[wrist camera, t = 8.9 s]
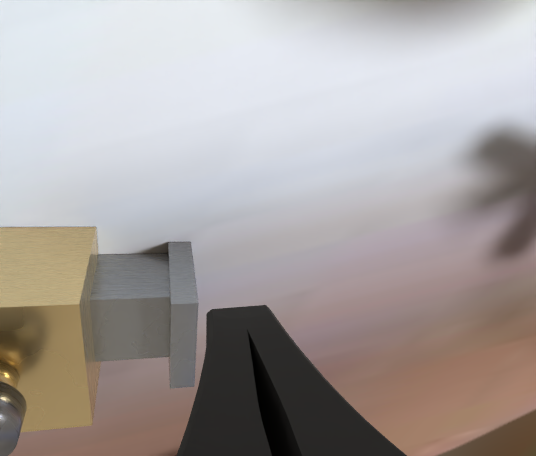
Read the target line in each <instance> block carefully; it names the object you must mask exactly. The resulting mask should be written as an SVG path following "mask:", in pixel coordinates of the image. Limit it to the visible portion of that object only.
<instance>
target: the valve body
mask: <svg viewBox="0 0 536 456" xmlns="http://www.w3.org/2000/svg"><path fill="white" fill-rule="evenodd" d="M197 320H198V297H197V288H196V280H195V272H194V264H193V256H192V248H191V242H168V254H115V255H98V244H97V231H96V227H0V381H2V382H4V383H7V384H9V385H11V386H13V387H14V388H16V389H17V390H18V391H19V392H20V393H21V394H22V395H23V397H24V398H25V400H26V404H27V409H26V414H25V417H24V421H23V424H22V428H21V431H20V432H28V431H38V430H49V429H59V428H69V427H80V426H90V425H92V422H93V415H94V408H95V400H96V393H97V386H98V378H99V371H100V364H101V361H113V360H128V359H143V358H158V357H169V377H170V388H182V387H194V382H195V361H196V341H197Z"/></svg>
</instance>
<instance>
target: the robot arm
mask: <svg viewBox="0 0 536 456" xmlns="http://www.w3.org/2000/svg"><path fill="white" fill-rule="evenodd" d="M177 456H407V455H405V454H404V453H403V452H402V451H401V450H399V449H398V448H397V447H396V446H395V445H394V444H392V443H391V442H390V441H389V440H388V439H386V438H385V437H384V436H383V435H382V434H381V433H380V432H379V431H377V430H376V429H375V428H374V427H373V426H372V425H371V424H370V423H369V422H367V421H366V420H365V419H364V418H363V417H362V416H361V415H360V414H359V413H358V412H357V411H356V410H355V409H354V408H353V407H352V406H351V405H350V404H349V403H348V402H347V401H346V400H345V399H344V398H343V397H342V396H341V395H340V394H339V393H338V392H337V391H336V390H335V389H334V388H333V387H332V385H331V384H330V383H329V382H328V381H327V380H326V379H325V378H324V377H323V376H322V374H321V373H320V372H319V371H318V370H317V369H316V367H315V366H314V365H313V364H312V363H311V362H310V361H309V359H308V358H307V357H306V356H305V355H304V353H303V352H302V351H301V350H300V349H299V347H298V346H297V345H296V344H295V342H294V341H293V340H292V338H291V337H290V336H289V335H288V333H287V332H286V331H285V329H284V328H283V327H282V325H281V324H280V323H279V321H278V320H277V318H276V317H275V316H274V314H273V313H272V311H271V310H270V309H269V308H268V307H267V306H266V305H261V306H248V307H235V308H223V309H212V310H210V311H209V312H208V313H207V336H206V353H205V359H204V364H203V368H202V373H201V378H200V383H199V387H198V390H197V394H196V397H195V401H194V404H193V408H192V411H191V415H190V418H189V421H188V424H187V427H186V430H185V433H184V436H183V439H182V442H181V445H180V448H179V450H178V453H177Z"/></svg>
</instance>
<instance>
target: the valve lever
mask: <svg viewBox="0 0 536 456" xmlns="http://www.w3.org/2000/svg"><path fill="white" fill-rule="evenodd" d="M26 409H27V404H26V400H25V398H24V397H23V395H22V394H21V393H20V392H19V391H18V390H17V389H16V388H14V387H13V386H11V385H9V384H7V383H4V382H2V381H0V456H8V455H9V454H11V453H12V451H13V450H14V449H15V447H16V445H17V442H18V438H19V435H20V431H21V428H22V424H23V421H24V417H25V414H26Z"/></svg>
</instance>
